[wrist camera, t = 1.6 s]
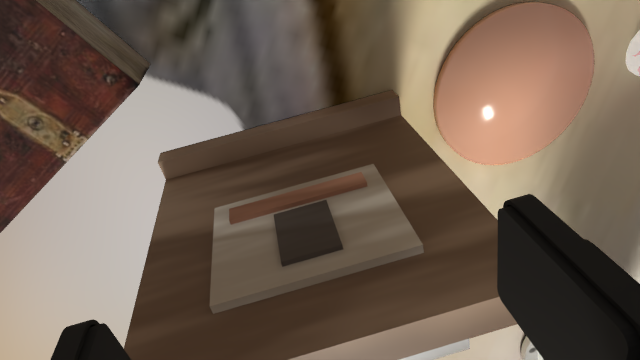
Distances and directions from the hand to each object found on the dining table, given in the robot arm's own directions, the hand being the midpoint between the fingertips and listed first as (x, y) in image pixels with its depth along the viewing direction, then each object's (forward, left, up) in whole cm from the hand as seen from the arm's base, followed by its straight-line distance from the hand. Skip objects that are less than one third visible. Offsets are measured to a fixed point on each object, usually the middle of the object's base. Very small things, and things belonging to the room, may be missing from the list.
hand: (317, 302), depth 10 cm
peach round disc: (-13, -15, -23) cm, 31 cm away
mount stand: (-8, +3, -23) cm, 25 cm away
